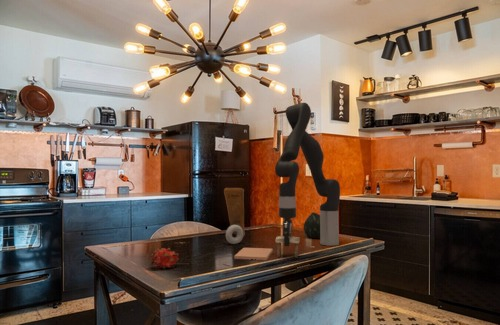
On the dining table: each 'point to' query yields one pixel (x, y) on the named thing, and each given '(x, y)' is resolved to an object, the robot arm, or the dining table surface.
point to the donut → (231, 230)
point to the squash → (312, 226)
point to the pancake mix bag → (235, 206)
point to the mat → (254, 253)
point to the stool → (291, 240)
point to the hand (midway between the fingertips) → (287, 244)
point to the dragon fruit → (164, 258)
